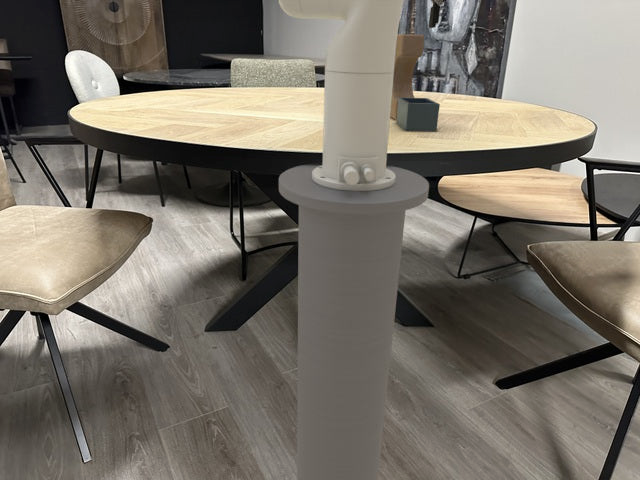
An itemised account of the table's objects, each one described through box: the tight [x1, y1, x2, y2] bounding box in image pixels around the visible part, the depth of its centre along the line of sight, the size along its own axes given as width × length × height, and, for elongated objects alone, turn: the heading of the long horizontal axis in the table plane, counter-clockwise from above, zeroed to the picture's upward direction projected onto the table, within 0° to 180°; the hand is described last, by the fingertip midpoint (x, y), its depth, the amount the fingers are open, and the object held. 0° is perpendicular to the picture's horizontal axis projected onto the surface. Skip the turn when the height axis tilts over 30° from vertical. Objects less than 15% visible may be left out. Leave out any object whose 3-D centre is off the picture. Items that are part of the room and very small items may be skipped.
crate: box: [395, 97, 441, 132], centre depth 109 cm, size 11×7×6 cm, turn 2°
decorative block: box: [390, 33, 426, 121], centre depth 120 cm, size 11×6×20 cm, turn 8°
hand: (408, 26), depth 96 cm, fingers open, 9 cm apart
